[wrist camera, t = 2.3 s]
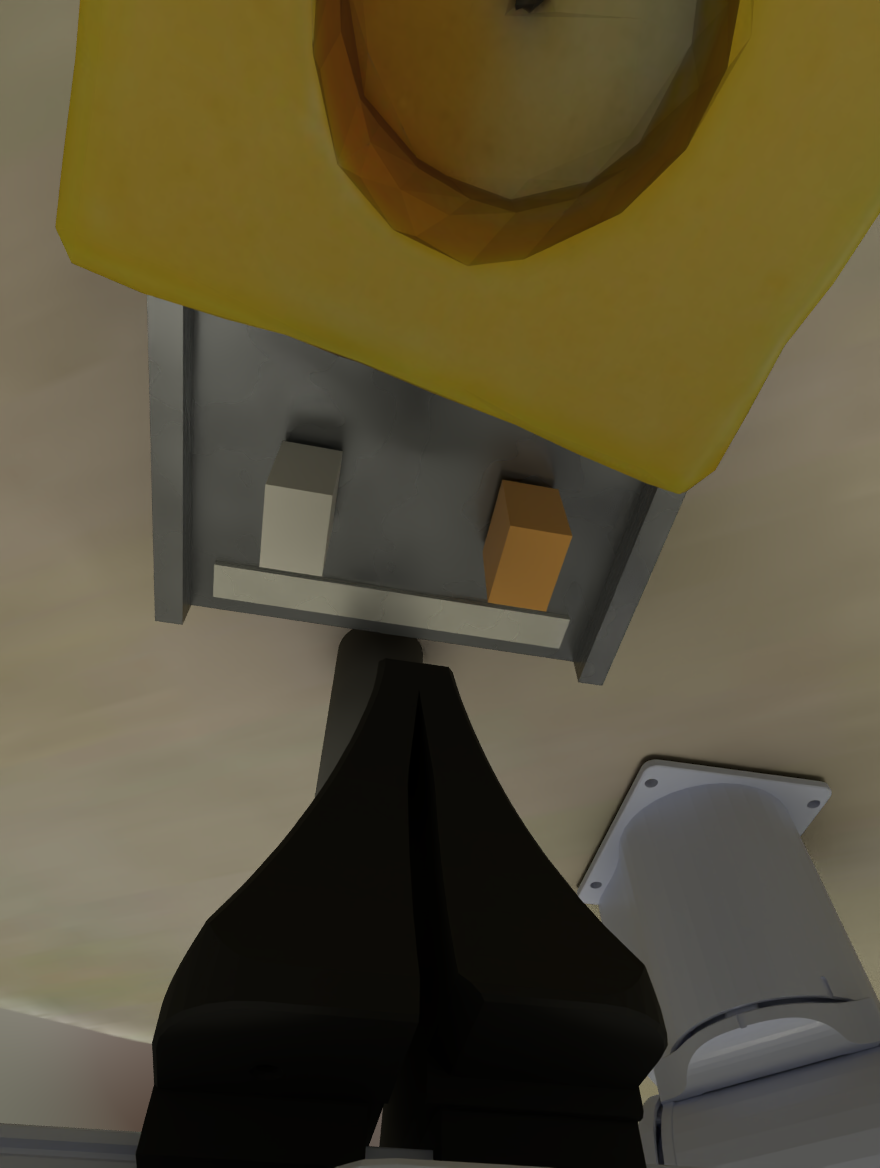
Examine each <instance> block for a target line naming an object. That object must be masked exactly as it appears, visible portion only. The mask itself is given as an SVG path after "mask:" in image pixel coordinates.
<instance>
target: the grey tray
mask: <svg viewBox="0 0 880 1168" xmlns="http://www.w3.org/2000/svg"><path fill="white" fill-rule="evenodd" d="M147 314H148V354H149V394H150V434H151V475H152V515H153V555H154V595H155V621H160V622H167V623H174V624H181V625H183V622H184V620H185V618H186V616H187V613H188V611H189V609H190V607H191V605H196V606H202V607H209V608H216V609H222V610H229V611H236V612H243V613H249V614H256V615H263V616H270V617H276V618H283V619H290V620H297V621H303V622H310V623H317V624H324V625H330V626H337V627H344V628H351V629H357V630H364V631H371V632H378V633H384V634H391V635H398V636H404V637H411V638H418V639H425V640H431V641H438V642H445V643H452V644H458V645H465V646H472V647H479V648H485V649H492V650H499V651H506V652H512V653H519V654H526V655H533V656H539V657H546V658H553V659H560V660H566V661H573V662H574V666H575V670H576V674H577V679H578V682H581V683H588V684H595V685H603V683H604V680H605V678H606V676H607V673H608V671H609V669H610V667H611V664H612V662H613V660H614V657H615V655H616V653H617V650H618V648H619V646H620V644H621V641H622V639H623V637H624V634H625V632H626V630H627V628H628V625H629V623H630V621H631V618H632V616H633V614H634V611H635V609H636V607H637V605H638V602H639V600H640V598H641V595H642V593H643V591H644V589H645V586H646V584H647V582H648V579H649V577H650V575H651V572H652V570H653V568H654V566H655V563H656V561H657V559H658V556H659V554H660V552H661V550H662V547H663V545H664V543H665V540H666V538H667V536H668V534H669V531H670V529H671V527H672V524H673V522H674V520H675V517H676V515H677V513H678V511H679V508H680V506H681V504H682V501H683V499H684V497H685V495H686V492H687V491H686V492H684V493H682V494H676V493H673V492H670V491H667V490H665V489H662V488H659V487H656V486H653V485H650V484H647V483H644V482H642V481H640V480H637V479H635V478H633V477H630V476H628V475H625V474H623V473H621V472H618V471H616V470H614V469H611V468H609V467H607V466H604V465H602V464H600V463H597V462H595V461H593V460H590V459H588V458H586V457H583V456H581V455H579V454H576V453H574V452H572V451H570V450H568V449H566V448H563V447H561V446H559V445H557V444H555V443H553V442H551V441H549V440H546V439H544V438H542V437H540V436H538V435H536V434H534V433H532V432H529V431H527V430H525V429H523V428H521V427H519V426H517V425H514V424H512V423H509V422H507V421H504V420H501V419H499V418H496V417H493V416H491V415H488V414H486V413H483V412H480V411H478V410H475V409H472V408H470V407H467V406H465V405H462V404H459V403H457V402H454V401H451V400H449V399H446V398H444V397H441V396H439V395H436V394H434V393H431V392H429V391H427V390H424V389H422V388H419V387H417V386H415V385H412V384H410V383H407V382H405V381H403V380H400V379H398V378H395V377H393V376H390V375H388V374H386V373H383V372H381V371H378V370H376V369H374V368H371V367H369V366H366V365H364V364H362V363H359V362H356V361H352V360H349V359H346V358H343V357H340V356H337V355H334V354H332V353H329V352H327V351H325V350H322V349H320V348H317V347H315V346H312V345H310V344H307V343H305V342H302V341H300V340H297V339H295V338H292V337H290V336H287V335H284V334H280V333H276V332H273V331H269V330H265V329H261V328H257V327H253V326H250V325H246V324H242V323H238V322H234V321H230V320H226V319H223V318H220V317H217V316H214V315H211V314H207V313H204V312H201V311H198V310H195V309H191V308H188V307H185V306H182V305H179V304H175V303H172V302H169V301H166V300H163V299H159V298H156V297H153V296H150V295H147ZM282 441H287V442H293V443H299V444H304V445H310V446H316V447H321V448H327V449H333V450H338V451H343V453H342V461H341V468H340V475H339V483H338V490H337V498H336V505H335V512H334V520H333V527H332V532H331V537H330V541H329V546H328V551H327V555H326V560H325V565H324V569H323V574H322V577H321V576H314V575H308V574H301V573H295V572H289V571H282V570H276V569H269V568H263V567H259V565H260V551H261V537H262V523H263V510H264V496H265V484H266V481H267V479H268V476H269V474H270V471H271V469H272V466H273V464H274V461H275V459H276V456H277V454H278V451H279V448H280V446H281V443H282ZM502 480H508V481H514V482H519V483H525V484H531V485H536V486H542V487H548V488H553V489H558V490H559V493H560V497H561V500H562V503H563V507H564V510H565V513H566V517H567V520H568V523H569V527H570V530H571V533H572V539H571V542H570V544H569V547H568V550H567V553H566V556H565V559H564V562H563V564H562V567H561V570H560V573H559V576H558V579H557V582H556V584H555V587H554V590H553V593H552V596H551V599H550V601H549V604H548V607H547V610H546V612H545V611H539V610H532V609H526V608H519V607H513V606H507V605H500V604H494V603H488V600H487V590H486V581H485V571H484V562H483V548H484V544H485V541H486V537H487V534H488V530H489V526H490V523H491V519H492V515H493V512H494V508H495V504H496V501H497V497H498V493H499V490H500V486H501V483H502Z"/></svg>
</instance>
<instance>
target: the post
mask: <svg viewBox="0 0 880 1168" xmlns="http://www.w3.org/2000/svg"><path fill="white" fill-rule="evenodd" d="M385 658H388V659H395V660H402V661H409V662H416V663H423V653H422V648H421V646H420V644H419V642H418V640H417V639H416V638H411V637H404V636H398V635H391V634H384V633H378V632H371V631H364V630H357V629H353V630H351V631H350V632H349V633H348V634H346V636H345V637H344V638H343V639H342V641H341V643H340V645H339V649H338V655H337V661H336V667H335V674H334V680H333V686H332V693H331V699H330V705H329V712H328V718H327V724H326V730H325V737H324V743H323V749H322V756H321V762H320V768H319V774H318V781H317V787H316V793H315V797H316V796H317V794H318V793H319V791H320V790H321V788H322V787H323V785H324V784H325V782H326V781H327V779H328V778H329V776H330V774H331V773H332V771H333V770H334V768H335V766H336V765H337V763H338V761H339V759H340V758H341V756H342V754H343V752H344V751H345V749H346V747H347V745H348V744H349V742H350V740H351V738H352V736H353V734H354V732H355V730H356V728H357V726H358V724H359V722H360V719H361V717H362V715H363V713H364V711H365V709H366V706H367V704H368V701H369V699H370V696H371V693H372V690H373V687H374V682H375V677H376V672H377V667H378V662H379V661H381V660H383V659H385Z"/></svg>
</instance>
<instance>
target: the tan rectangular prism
mask: <svg viewBox="0 0 880 1168" xmlns="http://www.w3.org/2000/svg"><path fill="white" fill-rule="evenodd" d="M571 539H572V533H571V530H570V527H569V523H568V520H567V517H566V513H565V510H564V507H563V503H562V500H561V497H560V493H559V490H558V489H553V488H548V487H542V486H536V485H531V484H525V483H519V482H514V481H508V480H502V483H501V486H500V490H499V493H498V497H497V501H496V504H495V508H494V512H493V515H492V519H491V523H490V526H489V530H488V534H487V537H486V541H485V544H484V548H483V562H484V571H485V581H486V590H487V600H488V603H494V604H500V605H507V606H513V607H519V608H526V609H532V610H539V611H545V612H546V610H547V607H548V604H549V601H550V599H551V596H552V593H553V590H554V587H555V584H556V582H557V579H558V576H559V573H560V570H561V567H562V564H563V562H564V559H565V556H566V553H567V550H568V547H569V544H570V542H571Z"/></svg>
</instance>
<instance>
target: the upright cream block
mask: <svg viewBox="0 0 880 1168" xmlns="http://www.w3.org/2000/svg"><path fill="white" fill-rule="evenodd" d="M342 453H343V451H338V450H333V449H327V448H321V447H316V446H310V445H304V444H299V443H293V442H287V441H282V443H281V446H280V448H279V451H278V454H277V456H276V459H275V461H274V464H273V466H272V469H271V471H270V474H269V476H268V479H267V481H266V484H265V496H264V510H263V523H262V537H261V551H260V565H259V567H263V568H269V569H276V570H282V571H289V572H295V573H301V574H308V575H314V576H321V577H322V574H323V569H324V565H325V560H326V555H327V551H328V546H329V541H330V537H331V532H332V527H333V520H334V512H335V505H336V498H337V490H338V483H339V475H340V468H341V461H342Z"/></svg>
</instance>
